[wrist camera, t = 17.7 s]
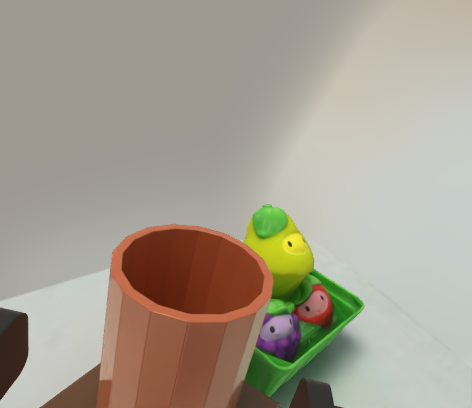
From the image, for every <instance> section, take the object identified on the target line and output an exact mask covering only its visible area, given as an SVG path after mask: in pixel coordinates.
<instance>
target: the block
mask: <svg viewBox="0 0 472 408" xmlns="http://www.w3.org/2000/svg"><path fill="white" fill-rule="evenodd" d="M100 367H101V363H100V364H98V365H97V366H96V367H94V368H93V369H92V370H90V371H89V372H88V373H86V374H85V375H83V376H82V377H81V378H79V379H78V380H77V381H75V382H74V383H73V384H71V385H70V386H69V387H67V388H66V389H64V390H63V391H62V392H60V393H59V394H58V395H56V396H55V397H54V398H52V399H51V400H50V401H48V402H47V403H46V404H44V405H43V406H41V407H40V408H96V407H97V397H98V387H99V377H100ZM235 408H278V403H277V402H275V401H274V400H272V399H271V398H269V397H268V396H266V395H265V394H263V393H262V392H261V391H259V390H258V389H256V388H255V387H253V386H252V385H250V384H249V383H247V382H246V381H244V383H243V386H242V389H241V392H240V395H239V398H238V401H237V404H236V407H235Z"/></svg>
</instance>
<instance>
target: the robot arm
mask: <svg viewBox="0 0 472 408" xmlns="http://www.w3.org/2000/svg"><path fill="white" fill-rule="evenodd" d="M27 357H28V316H27V314H26V313H22V312H18V311H13V310H9V309H4V308H0V400H1V399H2V397H3V396H4V395H5V393H6V392H7V391H8V389H9V388H10V387H11V385H12V384H13V383H14V381H15V380H16V379H17V377H18V376H19V375H20V373H21V371H22V370H23V368H24V366H25V363H26V360H27ZM289 408H342V407H337V406H334V402H333V397H332V392H331V388H330V385H329V384H328V383H323V382H319V381H315V380H310V379H306V378H302V379H301V380H300V382H299V385H298V387H297V390H296V392H295V395H294V397H293V399H292V402H291V404H290V407H289Z"/></svg>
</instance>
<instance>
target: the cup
mask: <svg viewBox="0 0 472 408" xmlns="http://www.w3.org/2000/svg"><path fill="white" fill-rule="evenodd" d="M272 288H273V276H272V274H271V272H270V270H269V268H268V266H267V264H266V262H265V260H264V259H263V258H262V257H261V256H259V255H258V254H257V253H256V252H255V251H254V250H253V249H252V248H250V247H249V246H248V245H247V244H245V243H243V242H241V241H239V240H237V239H235V238H233V237H230V236H229V235H227V234H225V233H222V232H218V231H214V230H211V229H207V228H203V227H199V226H187V225H176V224H174V225H173V224H171V225H164V226H156V227H149V228H145V229H143V230H141V231H138V232H136V233H134V234H131V235H129V236H127V237H126V238H125V239H124V240H123V241H122V242H121V243H120V244H119V245H118V246H117V247H116V248H115V249H114V251H113V252H112V260H111V268H110V278H109V288H108V298H107V308H106V318H105V328H104V337H103V347H102V357H101V367H100V377H99V387H98V397H97V407H96V408H235V407H236V404H237V401H238V398H239V395H240V392H241V389H242V386H243V383H244V379H245V376H246V373H247V370H248V367H249V364H250V361H251V358H252V355H253V352H254V349H255V346H256V343H257V340H258V336H259V333H260V330H261V327H262V324H263V321H264V318H265V315H266V312H267V309H268V306H269V303H270V300H271V297H272Z"/></svg>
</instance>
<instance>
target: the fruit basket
mask: <svg viewBox="0 0 472 408" xmlns="http://www.w3.org/2000/svg"><path fill="white" fill-rule="evenodd" d="M243 243H245V244H247V245H248V246H249V247H250V248H252V249H253V250H254V251H255V252H256V253H257V254H258V255H259V256H261V257H262V258H263V259H264V260H265V262H266V264H267V266H268V268H269V270H270V272H271V274H272V276H273V288H272V297H271V300H270V303H269V306H268V309H267V312H266V315H265V318H264V321H263V324H262V327H261V330H260V333H259V336H258V340H257V343H256V346H255V349H254V352H253V355H252V358H251V361H250V364H249V367H248V370H247V373H246V376H245V379H244V381H246V382H247V383H249V384H250V385H252V386H253V387H255V388H256V389H258V390H259V391H261V392H262V393H263V394H265V395H266V396H268V397H271V396H272V395H273V394H274V393H275V392H276V391H277V389H278V388H279V387H280V386H282V385H284V384H285V383H286V382H288V381H289V380H290V379H291V378H292V377H293V376H294V375H295V374H296V373H297V372H298V370H299V369H302V368H303V367H304V366H306V365H307V364H308V363H309V362H310V361H311V360H312V359H313V358H314V357H315V356H316V354H319V353H320V352H321V351H323V350H324V349H325V348H326V347H327V346H328V345H329V344H330V343H331V341H332V340H333V339H334V338H335V337H336V336H337V335H338V333H339V332H340V331H341V330H342V329H343V328H344V327H345V326H346V325H347V324H348V323H349V322H350V321H352V320H353V319H354V318H355V317H356V316H357V315H358V314H359V313H360V312H361V311H362V310H363V309H364V303H363V302H362V300H360V299H359V298H358V297H357V296H356V295H354V294H352V293H351V292H349V291H348V290H346V289H345V288H343V287H341V286H340V285H338V284H337V283H335V282H334V281H332V280H330V279H329V278H327V277H326V276H324V275H322V274H321V273H319V272H318V271H316V270H315V269H313V267H314V258H313V254H312V251H311V249H310V247H309V245H308V243H307V241H306V240H305V238H304V237H303V235H302V234H301V233H300V231H299V230H298V229H297V227H296V226H295V223H294V222H293V220H292V219H291V217H290V216H289V215H287V214H286V213H285V212H284V210H282V209H280V208H276V207H272V206H271V205H269V204H268V205H264V206H263V208H261V209H259V210H257V211H256V212H255V213H254V214H253V217H252V219H251V220H250V221H249V223H248V226H247V234H246V237H245V240H244V242H243Z"/></svg>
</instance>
